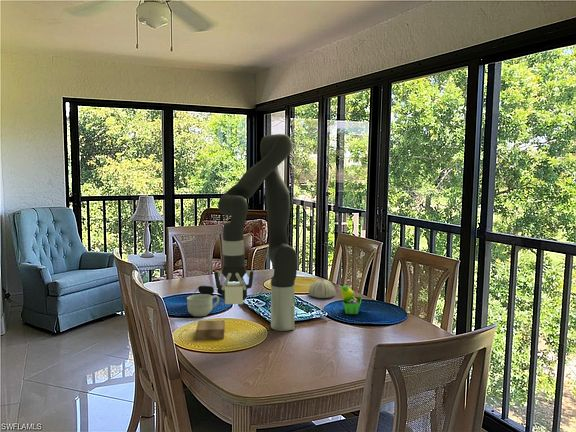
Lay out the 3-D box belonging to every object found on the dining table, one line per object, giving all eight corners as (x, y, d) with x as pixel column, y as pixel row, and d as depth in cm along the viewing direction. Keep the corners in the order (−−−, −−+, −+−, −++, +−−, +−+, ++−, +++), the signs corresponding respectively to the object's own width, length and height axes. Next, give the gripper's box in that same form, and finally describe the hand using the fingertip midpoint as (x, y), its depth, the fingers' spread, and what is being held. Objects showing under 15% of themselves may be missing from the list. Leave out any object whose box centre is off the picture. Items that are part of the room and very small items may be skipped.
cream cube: (243, 299, 168) (243, 282, 167) (242, 304, 162) (242, 287, 162) (227, 299, 168) (226, 282, 167) (225, 304, 162) (224, 287, 161)
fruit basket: (360, 315, 201) (360, 289, 200) (339, 314, 203) (339, 288, 202) (361, 307, 213) (362, 283, 211) (341, 306, 214) (342, 282, 213)
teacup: (187, 319, 195) (187, 300, 194) (186, 311, 205) (185, 293, 204) (221, 317, 198) (221, 298, 197) (218, 309, 209) (218, 291, 208)
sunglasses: (233, 295, 233) (232, 286, 232) (227, 308, 218) (226, 298, 217) (198, 294, 234) (198, 285, 233) (190, 307, 220) (190, 297, 219)
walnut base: (224, 330, 183) (224, 320, 183) (223, 339, 173) (223, 329, 173) (198, 330, 182) (198, 320, 182) (196, 340, 172) (196, 329, 172)
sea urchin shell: (326, 301, 222) (326, 284, 222) (302, 296, 230) (302, 280, 230) (340, 295, 233) (340, 279, 232) (317, 291, 241) (318, 275, 240)
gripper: (255, 250, 167) (255, 296, 169) (214, 250, 167) (215, 297, 169) (253, 254, 160) (254, 302, 161) (211, 254, 159) (212, 303, 161)
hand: (234, 299), depth 165 cm, fingers closed on cream cube, 6 cm apart
